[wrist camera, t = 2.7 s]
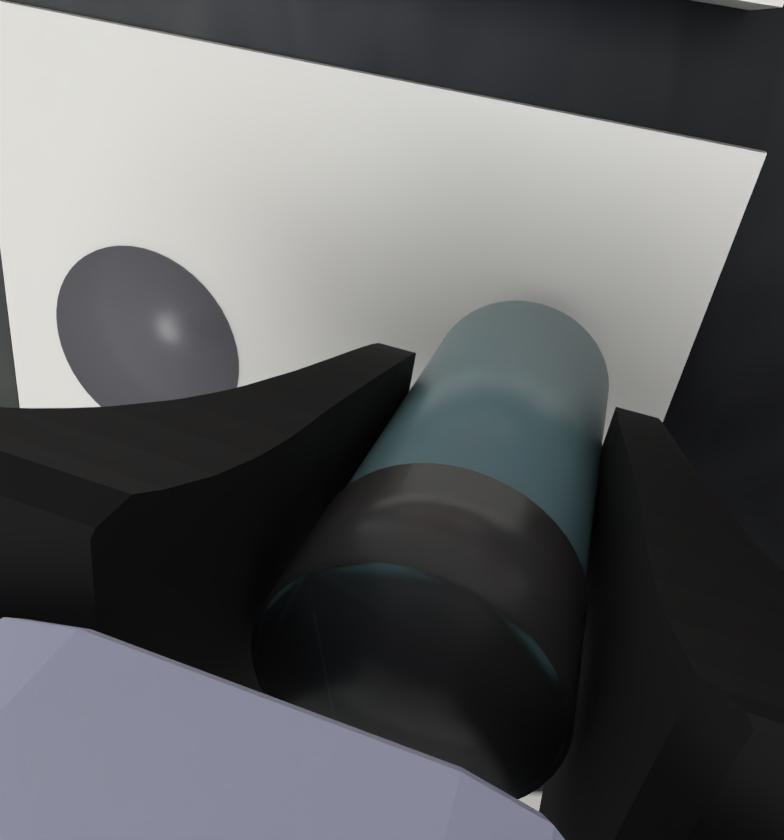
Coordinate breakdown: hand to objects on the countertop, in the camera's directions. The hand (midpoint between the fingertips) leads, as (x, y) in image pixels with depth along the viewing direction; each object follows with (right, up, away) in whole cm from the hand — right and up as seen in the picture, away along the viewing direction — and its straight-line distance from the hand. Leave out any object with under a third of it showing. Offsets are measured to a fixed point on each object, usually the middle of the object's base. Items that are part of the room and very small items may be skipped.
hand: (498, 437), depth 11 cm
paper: (-4, +2, +6) cm, 7 cm away
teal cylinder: (+1, +1, +2) cm, 2 cm away
